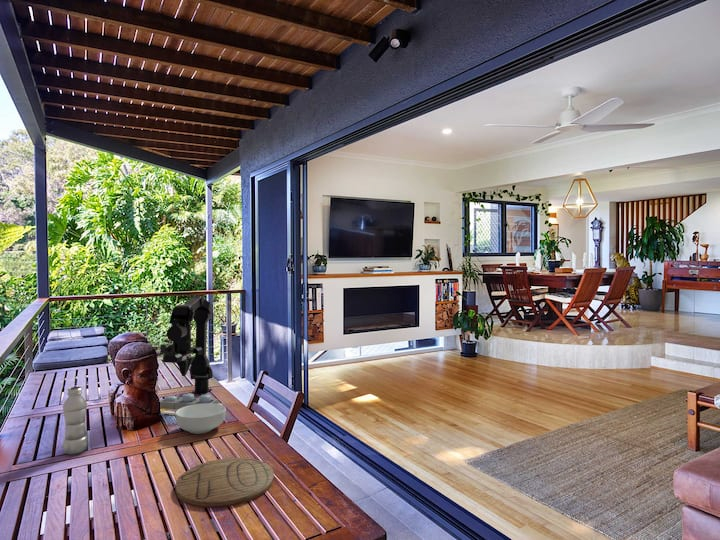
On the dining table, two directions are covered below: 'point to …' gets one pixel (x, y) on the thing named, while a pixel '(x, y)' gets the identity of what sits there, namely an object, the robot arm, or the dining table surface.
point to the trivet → (224, 482)
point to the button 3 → (205, 398)
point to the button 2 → (188, 398)
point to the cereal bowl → (200, 417)
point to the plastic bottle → (75, 422)
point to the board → (178, 405)
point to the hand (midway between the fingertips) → (183, 376)
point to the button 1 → (171, 398)
